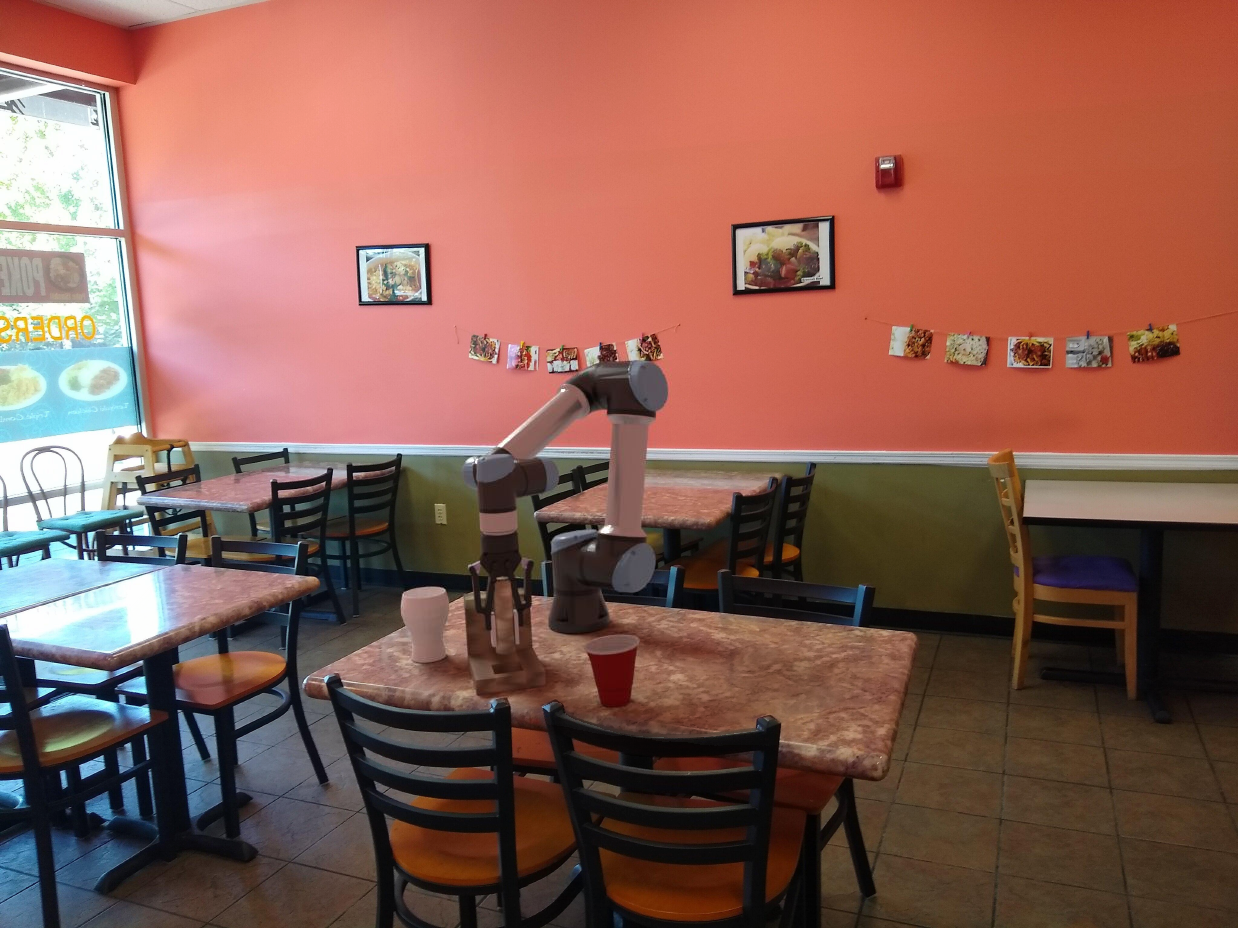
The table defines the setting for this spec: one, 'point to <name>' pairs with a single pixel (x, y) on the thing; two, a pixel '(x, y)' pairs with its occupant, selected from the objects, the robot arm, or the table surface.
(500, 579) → the peg
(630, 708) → the table surface
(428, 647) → the cup
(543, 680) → the socket block
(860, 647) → the table surface
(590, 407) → the robot arm
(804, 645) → the table surface
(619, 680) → the plastic cup
